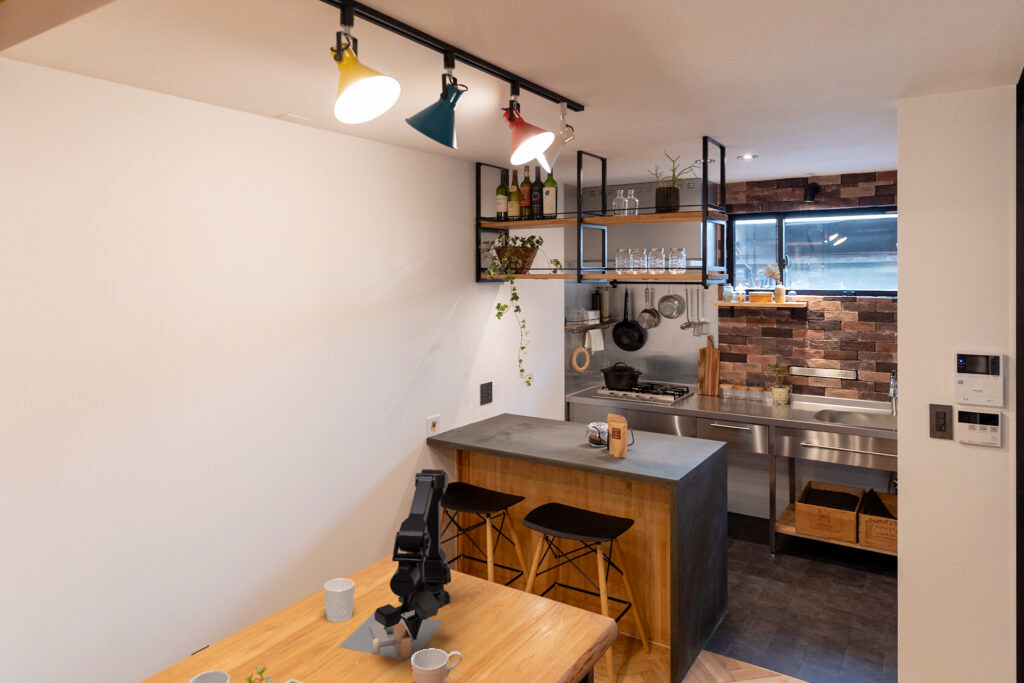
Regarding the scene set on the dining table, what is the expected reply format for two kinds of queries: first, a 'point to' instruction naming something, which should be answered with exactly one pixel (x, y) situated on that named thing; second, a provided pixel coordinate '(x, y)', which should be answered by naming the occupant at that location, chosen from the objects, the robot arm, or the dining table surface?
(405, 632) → the flange plate
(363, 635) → the slate board
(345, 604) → the white cup
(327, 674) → the dining table surface
